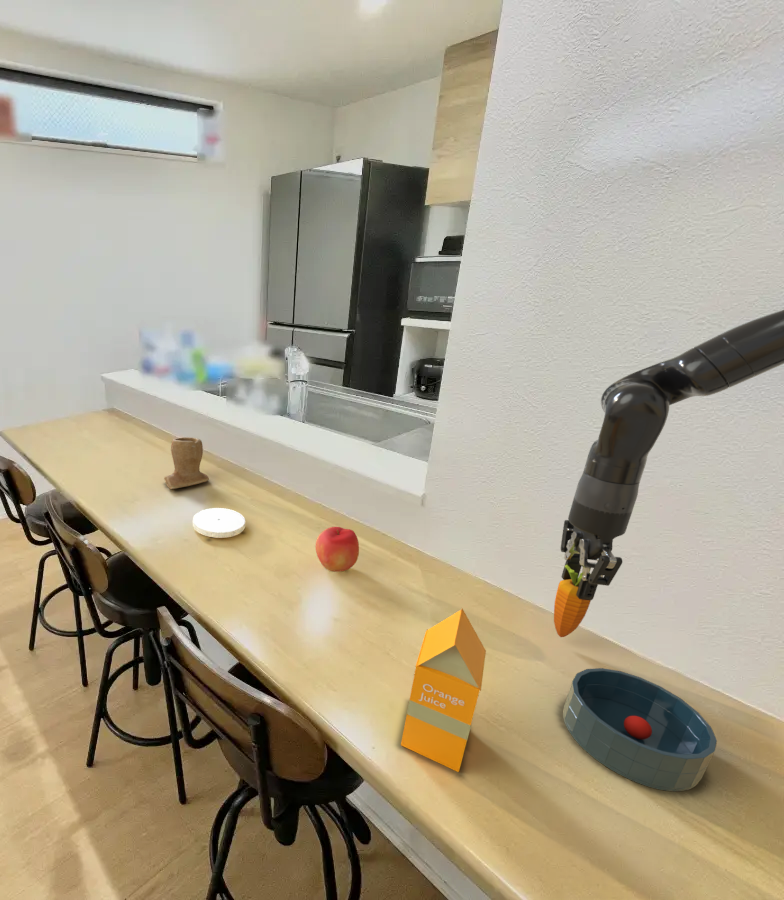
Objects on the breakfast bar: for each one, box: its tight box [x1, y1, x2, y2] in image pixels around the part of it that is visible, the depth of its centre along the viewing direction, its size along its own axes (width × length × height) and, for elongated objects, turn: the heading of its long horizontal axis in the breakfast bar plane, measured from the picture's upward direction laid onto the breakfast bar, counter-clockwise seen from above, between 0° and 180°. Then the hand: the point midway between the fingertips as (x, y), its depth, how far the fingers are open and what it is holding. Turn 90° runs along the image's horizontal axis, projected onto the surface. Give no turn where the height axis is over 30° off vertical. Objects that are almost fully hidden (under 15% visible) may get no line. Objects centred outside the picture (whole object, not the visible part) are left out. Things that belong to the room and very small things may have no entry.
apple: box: [315, 526, 360, 573], centre depth 112 cm, size 10×10×10 cm
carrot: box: [553, 564, 592, 638], centre depth 87 cm, size 5×5×15 cm
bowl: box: [562, 667, 718, 792], centre depth 71 cm, size 15×15×6 cm
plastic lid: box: [192, 507, 246, 539], centre depth 132 cm, size 14×14×2 cm
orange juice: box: [400, 608, 487, 773], centre depth 69 cm, size 8×9×20 cm
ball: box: [624, 716, 652, 739], centre depth 71 cm, size 3×3×3 cm
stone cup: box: [163, 436, 210, 490], centre depth 159 cm, size 15×12×15 cm
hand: (576, 588), depth 86 cm, fingers closed on carrot, 5 cm apart
